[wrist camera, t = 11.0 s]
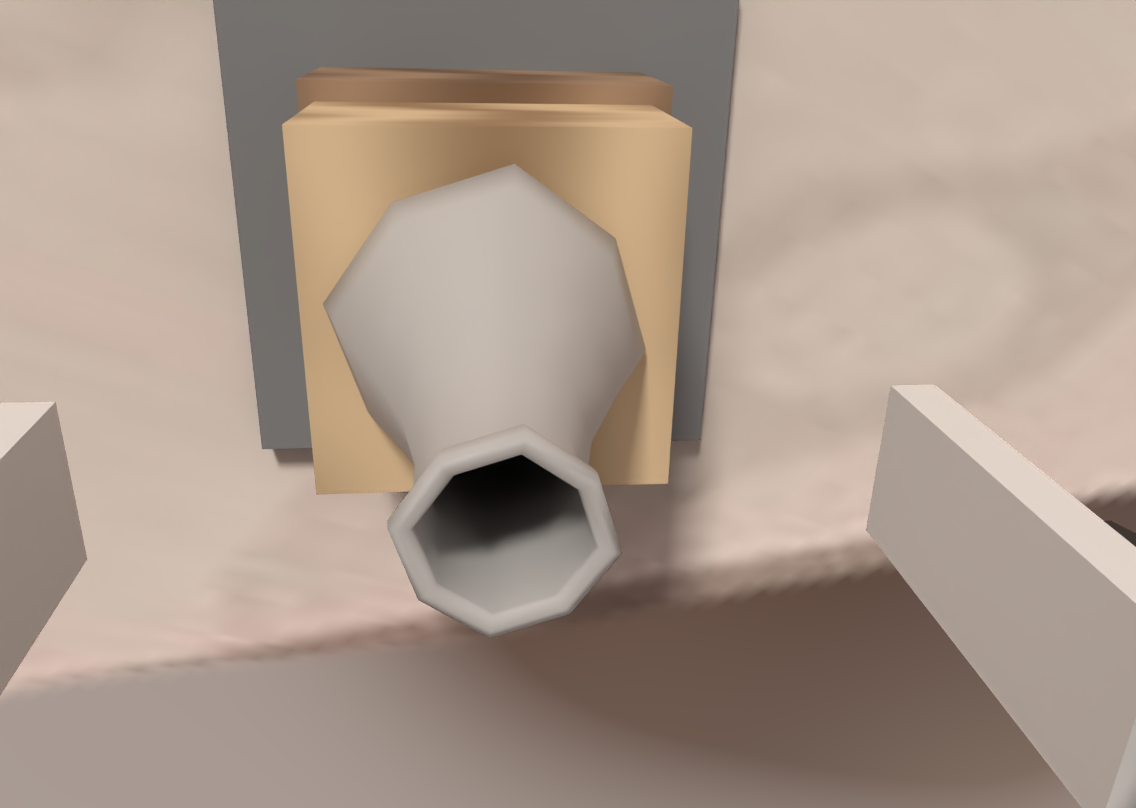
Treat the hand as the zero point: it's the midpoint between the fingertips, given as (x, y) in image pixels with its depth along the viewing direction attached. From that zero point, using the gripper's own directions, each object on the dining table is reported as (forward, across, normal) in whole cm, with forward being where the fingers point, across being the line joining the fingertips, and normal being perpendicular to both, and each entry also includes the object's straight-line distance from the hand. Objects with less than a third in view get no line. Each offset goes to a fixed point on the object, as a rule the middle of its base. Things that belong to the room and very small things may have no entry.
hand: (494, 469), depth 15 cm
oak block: (+13, 0, 0) cm, 13 cm away
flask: (+8, 0, 0) cm, 8 cm away
